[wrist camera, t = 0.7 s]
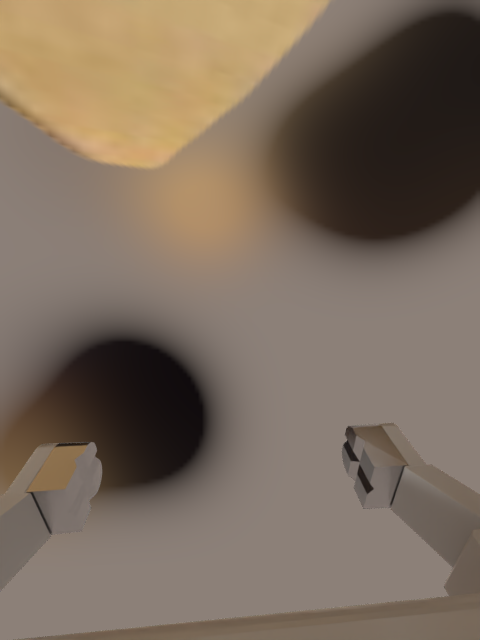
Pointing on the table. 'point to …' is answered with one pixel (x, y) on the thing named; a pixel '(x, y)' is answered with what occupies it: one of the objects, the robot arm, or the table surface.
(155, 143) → the table surface
